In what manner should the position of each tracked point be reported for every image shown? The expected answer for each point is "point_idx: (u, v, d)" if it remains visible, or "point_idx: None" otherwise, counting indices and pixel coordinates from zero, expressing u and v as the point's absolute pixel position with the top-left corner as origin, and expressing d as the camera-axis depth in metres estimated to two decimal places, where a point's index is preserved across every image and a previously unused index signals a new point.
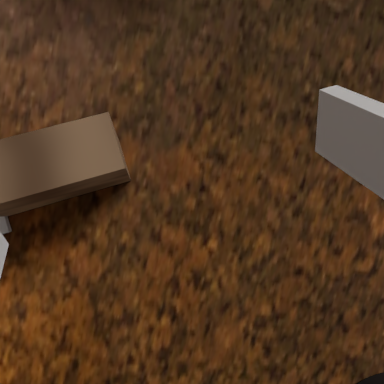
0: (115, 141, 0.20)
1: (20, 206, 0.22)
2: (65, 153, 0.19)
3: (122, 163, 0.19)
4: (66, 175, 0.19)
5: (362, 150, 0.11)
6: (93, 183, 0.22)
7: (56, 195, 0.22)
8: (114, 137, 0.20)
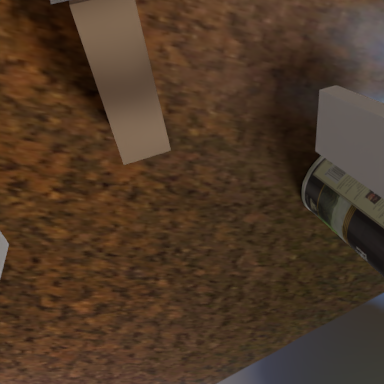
0: (146, 156, 0.23)
1: None
2: (136, 117, 0.22)
3: (127, 162, 0.23)
4: (116, 118, 0.21)
5: (362, 150, 0.11)
6: None
7: None
8: (149, 155, 0.23)
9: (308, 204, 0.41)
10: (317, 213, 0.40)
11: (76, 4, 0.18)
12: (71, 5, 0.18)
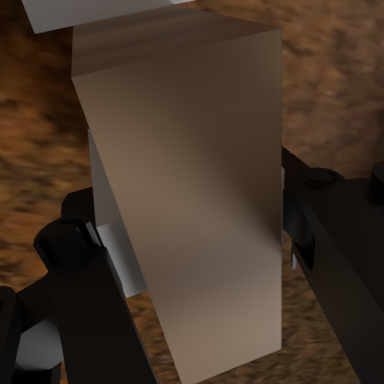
0: (231, 366, 0.11)
1: None
2: (225, 312, 0.09)
3: (192, 382, 0.11)
4: (180, 321, 0.09)
5: None
6: None
7: None
8: (238, 363, 0.11)
9: None
10: None
11: (96, 74, 0.05)
12: (79, 77, 0.05)
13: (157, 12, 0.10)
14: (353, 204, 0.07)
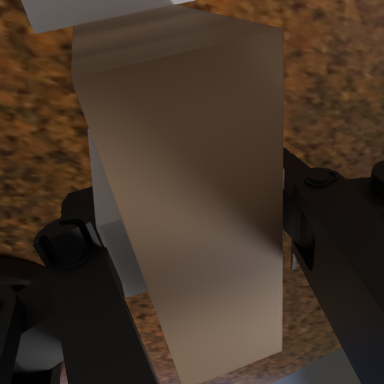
0: (232, 368, 0.11)
1: None
2: (225, 314, 0.09)
3: None
4: (180, 324, 0.09)
5: None
6: None
7: None
8: (239, 365, 0.11)
9: None
10: None
11: (96, 75, 0.05)
12: (79, 78, 0.05)
13: (157, 12, 0.10)
14: (353, 204, 0.07)
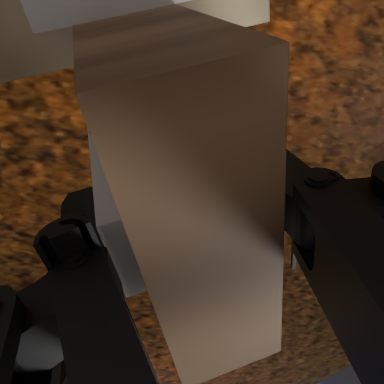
0: (231, 368, 0.11)
1: None
2: (226, 318, 0.09)
3: None
4: (181, 328, 0.09)
5: None
6: None
7: None
8: (238, 365, 0.11)
9: None
10: None
11: (101, 91, 0.05)
12: (83, 94, 0.05)
13: (159, 13, 0.10)
14: (353, 204, 0.07)
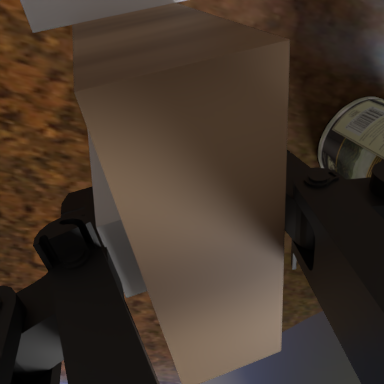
0: (231, 368, 0.11)
1: None
2: (226, 318, 0.09)
3: None
4: (181, 327, 0.09)
5: None
6: None
7: None
8: (238, 366, 0.11)
9: (325, 164, 0.38)
10: None
11: (100, 88, 0.05)
12: (82, 91, 0.05)
13: (159, 12, 0.10)
14: (353, 204, 0.07)
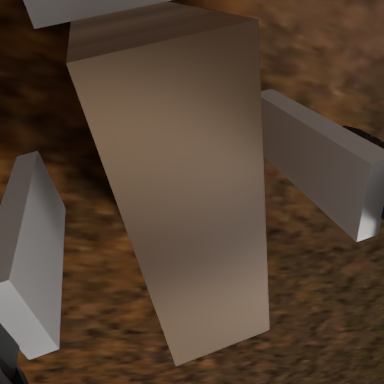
0: (221, 346, 0.11)
1: None
2: (214, 291, 0.10)
3: (184, 360, 0.11)
4: (170, 299, 0.09)
5: (288, 150, 0.12)
6: None
7: None
8: (228, 343, 0.11)
9: None
10: None
11: (89, 60, 0.06)
12: (73, 63, 0.06)
13: (150, 8, 0.11)
14: None
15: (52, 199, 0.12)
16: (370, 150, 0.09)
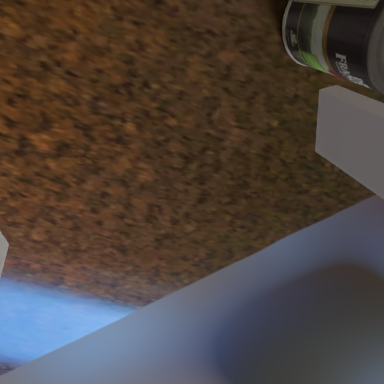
0: None
1: None
2: None
3: None
4: None
5: (362, 150, 0.11)
6: None
7: None
8: None
9: (289, 42, 0.38)
10: (298, 47, 0.37)
11: None
12: None
13: None
14: None
15: None
16: None
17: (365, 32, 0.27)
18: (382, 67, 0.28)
